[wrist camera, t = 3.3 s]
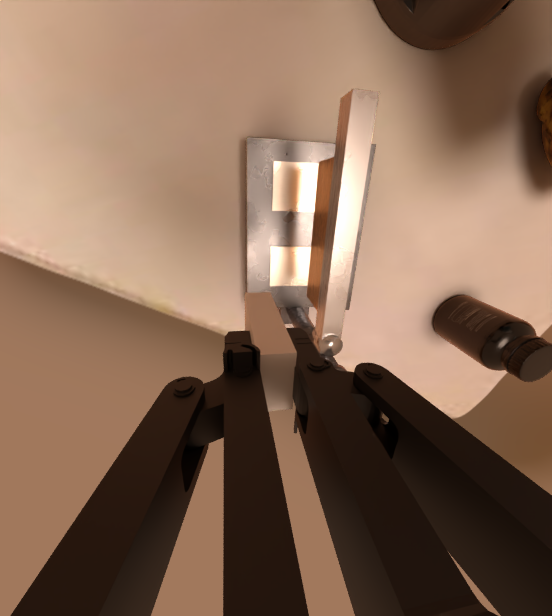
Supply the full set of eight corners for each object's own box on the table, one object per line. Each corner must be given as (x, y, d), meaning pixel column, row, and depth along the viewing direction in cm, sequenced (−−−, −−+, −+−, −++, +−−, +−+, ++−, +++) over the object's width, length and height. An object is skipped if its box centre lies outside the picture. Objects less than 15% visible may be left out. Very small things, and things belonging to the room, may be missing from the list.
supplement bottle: (429, 341, 40) (504, 396, 29) (433, 300, 37) (516, 345, 26) (471, 330, 41) (560, 381, 30) (478, 289, 38) (578, 329, 27)
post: (280, 295, 33) (314, 364, 20) (308, 294, 34) (359, 361, 21) (279, 321, 35) (310, 402, 22) (306, 320, 35) (352, 398, 22)
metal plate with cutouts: (245, 140, 26) (247, 134, 23) (360, 148, 28) (375, 144, 25) (246, 301, 33) (248, 312, 30) (339, 299, 35) (349, 309, 32)
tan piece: (315, 117, 21) (353, 86, 15) (337, 119, 21) (384, 89, 15) (298, 318, 28) (319, 356, 22) (315, 317, 28) (340, 355, 22)
